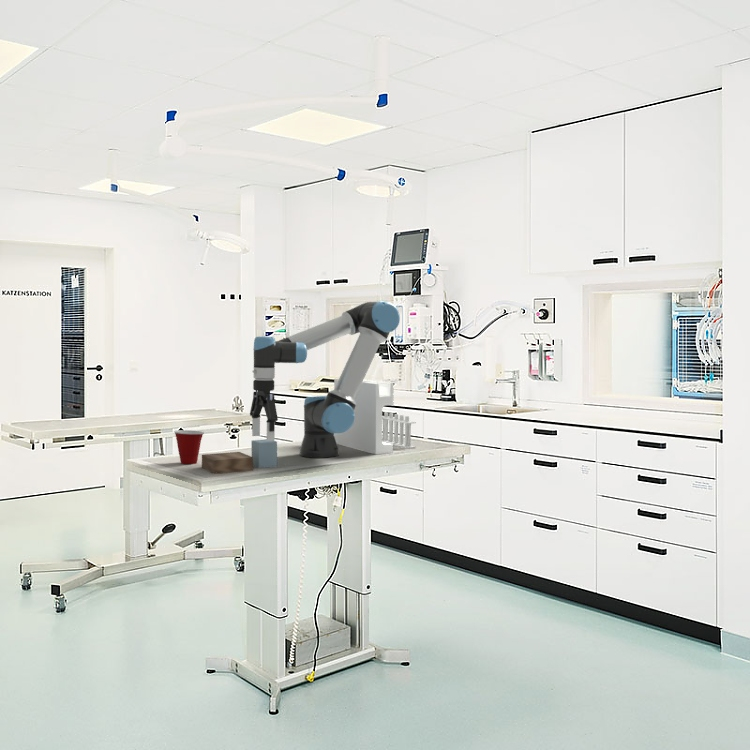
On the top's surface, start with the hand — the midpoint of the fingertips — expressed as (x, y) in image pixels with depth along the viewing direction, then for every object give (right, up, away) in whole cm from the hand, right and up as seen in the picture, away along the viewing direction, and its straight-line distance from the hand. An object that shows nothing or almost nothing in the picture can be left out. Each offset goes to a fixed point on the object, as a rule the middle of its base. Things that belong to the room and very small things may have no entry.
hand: (263, 438), depth 291 cm
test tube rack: (+49, -7, +54) cm, 73 cm away
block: (+35, -8, +44) cm, 57 cm away
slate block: (0, -10, +1) cm, 10 cm away
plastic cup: (-28, -10, +5) cm, 30 cm away
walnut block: (-12, -11, -6) cm, 17 cm away
